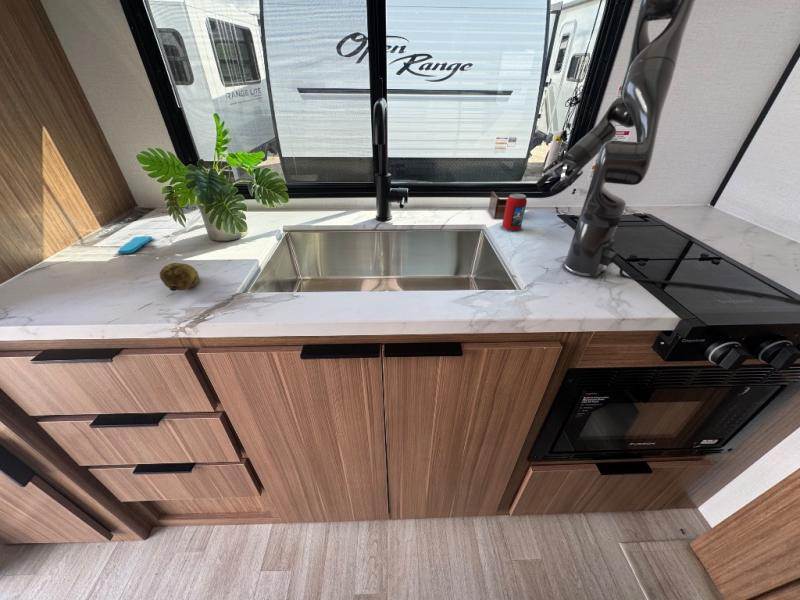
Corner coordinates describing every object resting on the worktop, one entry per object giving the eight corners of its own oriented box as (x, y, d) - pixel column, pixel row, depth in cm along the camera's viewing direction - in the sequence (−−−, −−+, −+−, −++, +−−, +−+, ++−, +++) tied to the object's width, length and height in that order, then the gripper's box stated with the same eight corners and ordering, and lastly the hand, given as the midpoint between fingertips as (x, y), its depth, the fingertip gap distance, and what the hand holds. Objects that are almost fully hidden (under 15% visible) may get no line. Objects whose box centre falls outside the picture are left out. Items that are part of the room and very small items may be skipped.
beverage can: (516, 233, 115) (524, 199, 109) (498, 228, 119) (504, 196, 112) (523, 227, 120) (530, 195, 113) (506, 223, 123) (512, 191, 116)
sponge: (110, 251, 100) (129, 249, 100) (134, 236, 110) (151, 234, 109) (113, 256, 100) (131, 253, 100) (137, 240, 110) (153, 238, 110)
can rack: (511, 210, 136) (515, 191, 131) (518, 218, 128) (522, 198, 123) (488, 210, 136) (491, 191, 131) (494, 218, 128) (497, 198, 123)
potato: (212, 274, 90) (202, 248, 85) (192, 300, 79) (180, 271, 75) (181, 276, 89) (169, 249, 85) (156, 302, 78) (142, 273, 74)
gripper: (565, 140, 113) (528, 176, 117) (593, 146, 101) (551, 186, 105) (574, 156, 117) (538, 190, 121) (602, 164, 105) (561, 201, 109)
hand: (544, 188), depth 113 cm, fingers open, 8 cm apart
